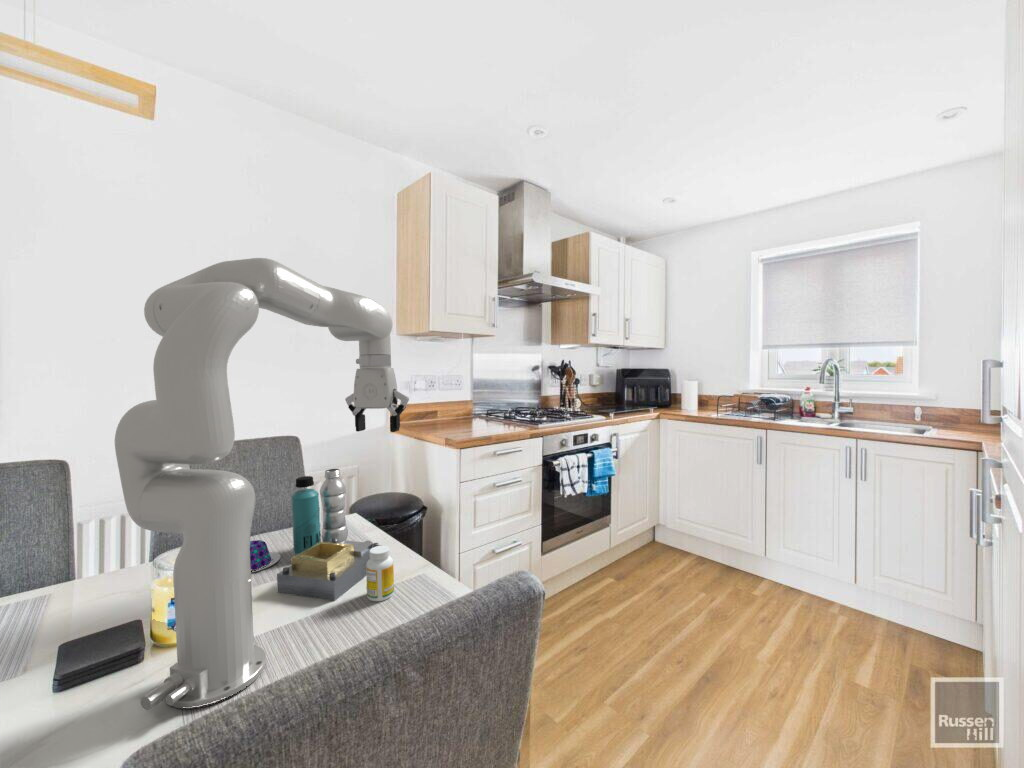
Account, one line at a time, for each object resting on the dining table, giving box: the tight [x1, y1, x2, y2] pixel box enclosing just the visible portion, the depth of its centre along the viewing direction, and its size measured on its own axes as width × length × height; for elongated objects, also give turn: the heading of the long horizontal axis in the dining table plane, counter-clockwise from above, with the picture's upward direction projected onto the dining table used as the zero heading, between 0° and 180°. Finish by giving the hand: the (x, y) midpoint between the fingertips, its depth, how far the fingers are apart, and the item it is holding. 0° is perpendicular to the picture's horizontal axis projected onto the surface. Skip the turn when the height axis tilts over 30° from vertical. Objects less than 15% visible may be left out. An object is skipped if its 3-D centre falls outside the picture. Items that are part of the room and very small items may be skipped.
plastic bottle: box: [319, 468, 349, 542], centre depth 115 cm, size 6×7×20 cm
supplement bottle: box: [365, 545, 395, 602], centre depth 88 cm, size 5×5×10 cm
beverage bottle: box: [290, 475, 322, 555], centre depth 108 cm, size 6×7×20 cm
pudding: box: [250, 539, 281, 573], centre depth 104 cm, size 12×12×5 cm
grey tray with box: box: [276, 539, 384, 601], centre depth 99 cm, size 21×14×6 cm, turn 165°
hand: (377, 431), depth 108 cm, fingers open, 9 cm apart
